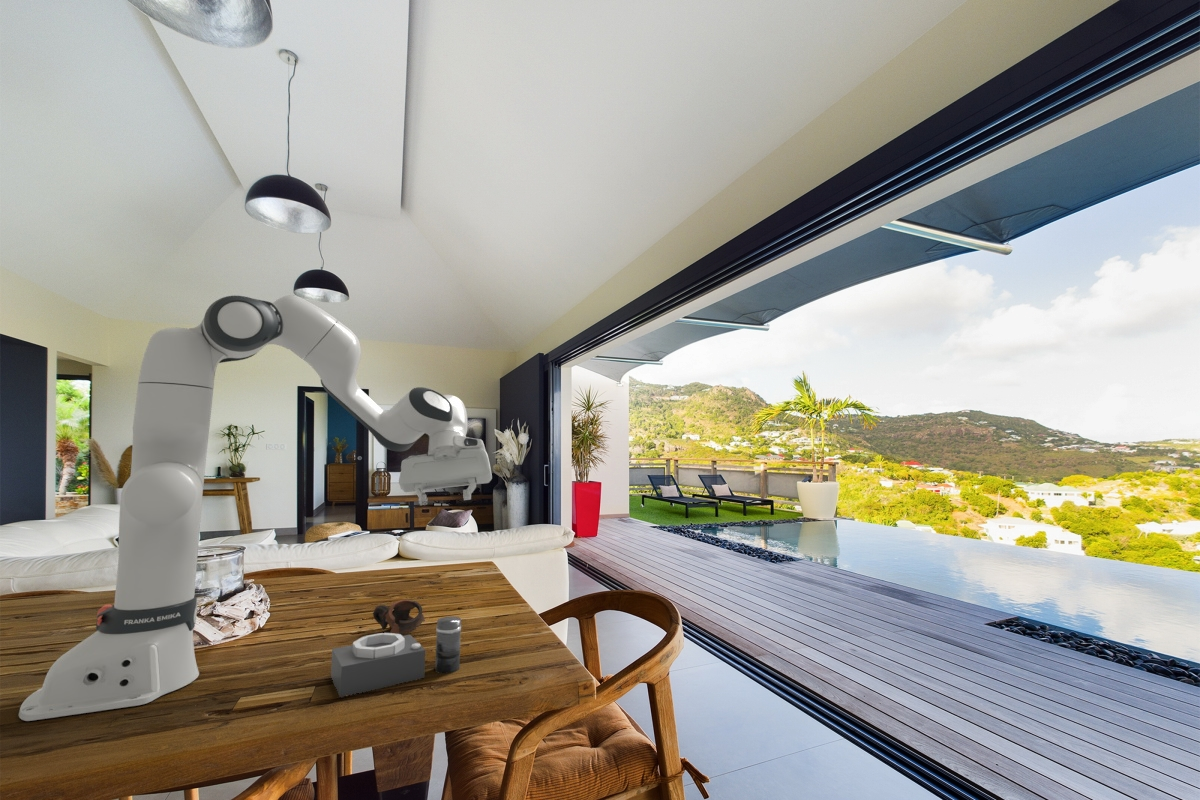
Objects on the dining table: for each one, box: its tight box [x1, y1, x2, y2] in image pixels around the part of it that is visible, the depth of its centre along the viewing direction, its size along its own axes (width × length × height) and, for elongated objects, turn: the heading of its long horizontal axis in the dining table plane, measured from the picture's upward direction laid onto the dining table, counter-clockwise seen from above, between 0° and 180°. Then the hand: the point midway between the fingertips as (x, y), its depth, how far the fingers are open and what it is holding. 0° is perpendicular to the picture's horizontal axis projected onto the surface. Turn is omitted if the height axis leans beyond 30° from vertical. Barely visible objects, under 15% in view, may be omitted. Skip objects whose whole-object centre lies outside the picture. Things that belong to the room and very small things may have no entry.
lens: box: [435, 616, 462, 674], centre depth 102 cm, size 5×5×9 cm
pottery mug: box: [372, 599, 426, 636], centre depth 122 cm, size 12×10×8 cm
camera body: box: [330, 632, 426, 698], centre depth 98 cm, size 14×10×6 cm
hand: (445, 501), depth 116 cm, fingers open, 8 cm apart
